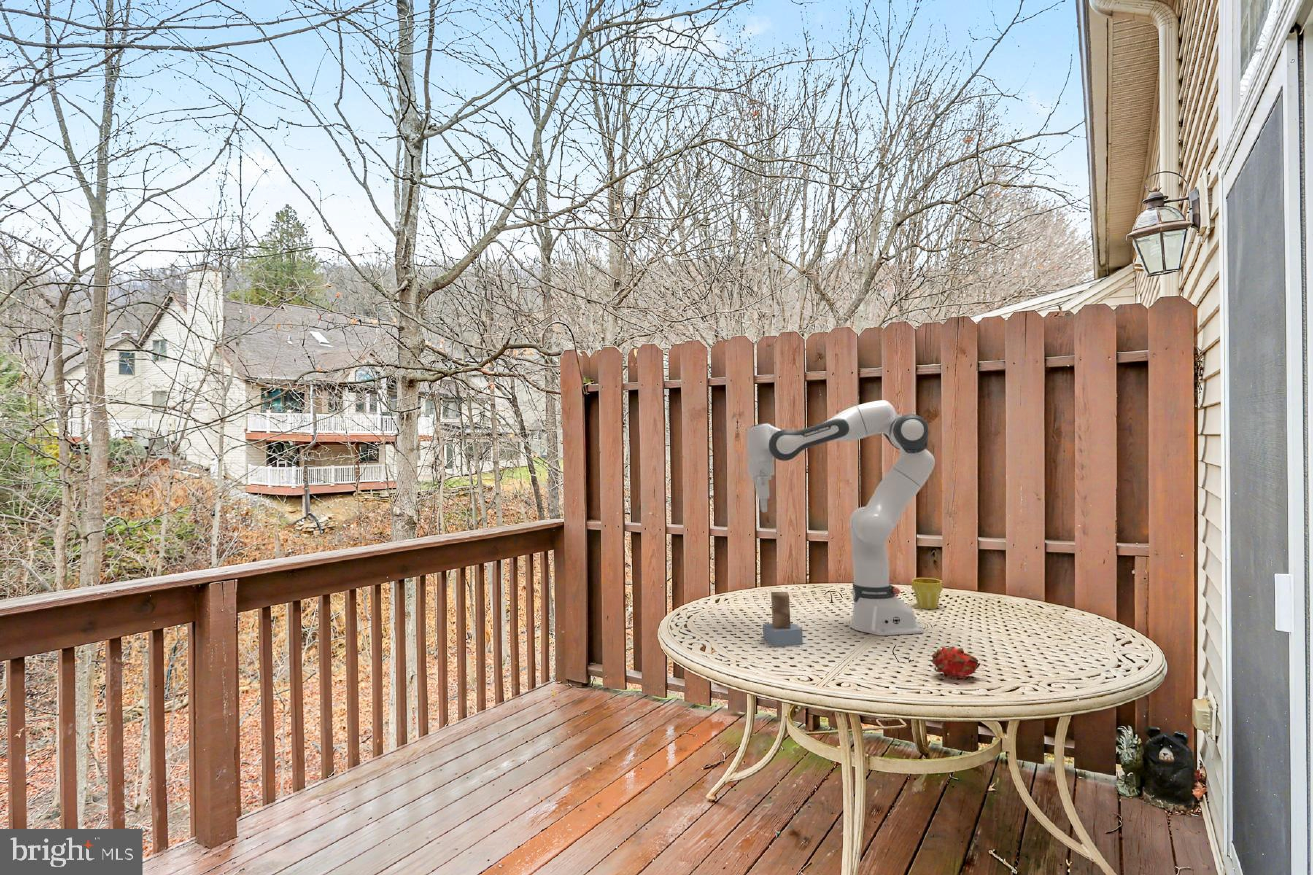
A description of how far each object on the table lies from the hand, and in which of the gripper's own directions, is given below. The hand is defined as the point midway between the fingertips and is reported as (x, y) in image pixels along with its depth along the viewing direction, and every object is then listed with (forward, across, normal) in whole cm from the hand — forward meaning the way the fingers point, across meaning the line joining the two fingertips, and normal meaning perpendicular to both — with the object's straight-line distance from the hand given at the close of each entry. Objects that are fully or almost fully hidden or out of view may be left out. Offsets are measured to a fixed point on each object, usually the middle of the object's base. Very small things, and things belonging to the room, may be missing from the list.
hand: (764, 511), depth 220 cm
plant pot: (+40, +24, -58) cm, 74 cm away
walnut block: (+34, -21, -2) cm, 40 cm away
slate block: (+39, -21, -2) cm, 44 cm away
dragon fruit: (+41, -49, -44) cm, 77 cm away
